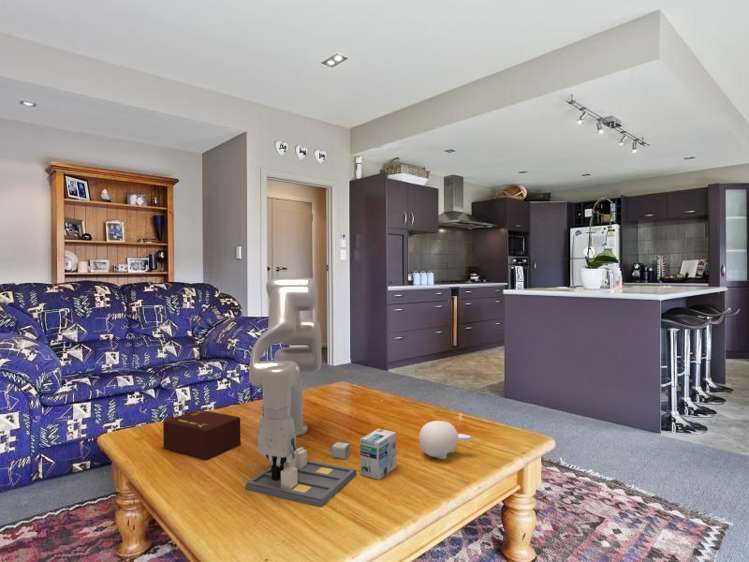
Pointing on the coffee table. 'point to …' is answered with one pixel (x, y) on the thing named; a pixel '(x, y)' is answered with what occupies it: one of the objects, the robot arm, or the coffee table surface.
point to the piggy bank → (440, 438)
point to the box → (201, 434)
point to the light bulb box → (378, 453)
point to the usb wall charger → (340, 450)
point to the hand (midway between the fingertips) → (277, 478)
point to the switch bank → (305, 483)
